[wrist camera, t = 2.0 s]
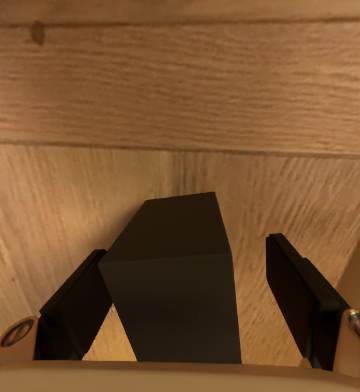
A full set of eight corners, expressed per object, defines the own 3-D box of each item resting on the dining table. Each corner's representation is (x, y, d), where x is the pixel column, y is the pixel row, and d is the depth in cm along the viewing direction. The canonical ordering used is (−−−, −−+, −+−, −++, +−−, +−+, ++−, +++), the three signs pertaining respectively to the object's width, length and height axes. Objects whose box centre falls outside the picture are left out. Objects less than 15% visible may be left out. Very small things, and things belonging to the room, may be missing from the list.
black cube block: (145, 200, 12) (95, 264, 6) (214, 191, 11) (232, 253, 5) (164, 272, 14) (140, 370, 8) (223, 268, 13) (243, 373, 7)
